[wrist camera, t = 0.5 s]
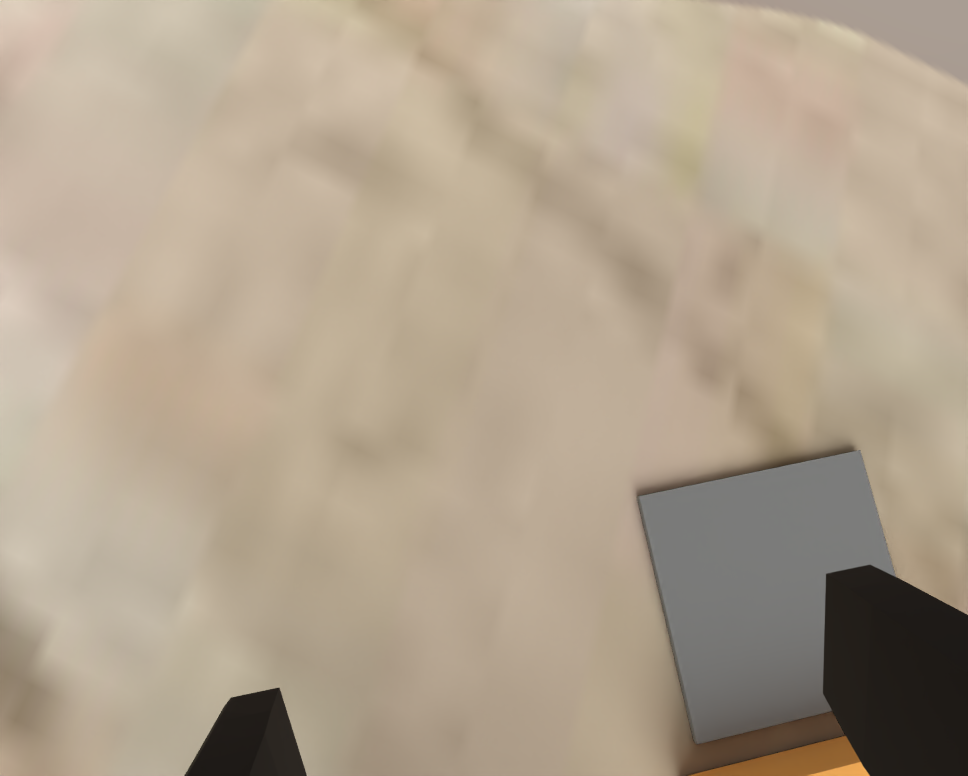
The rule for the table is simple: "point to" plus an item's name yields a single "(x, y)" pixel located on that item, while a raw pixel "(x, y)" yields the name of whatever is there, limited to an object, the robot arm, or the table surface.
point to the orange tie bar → (800, 762)
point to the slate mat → (758, 585)
